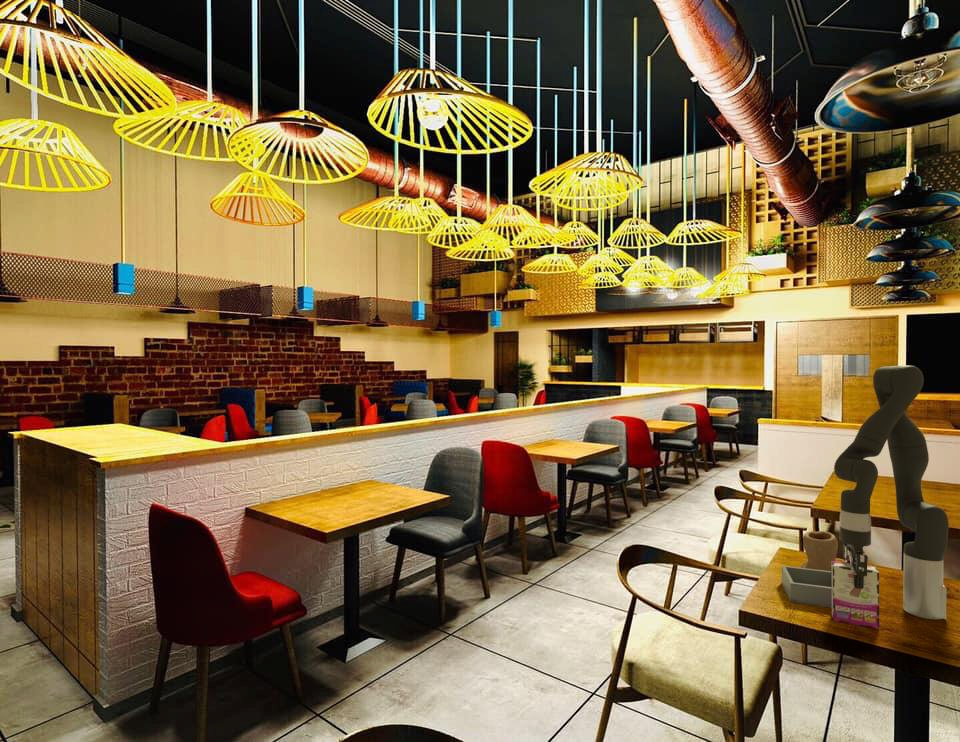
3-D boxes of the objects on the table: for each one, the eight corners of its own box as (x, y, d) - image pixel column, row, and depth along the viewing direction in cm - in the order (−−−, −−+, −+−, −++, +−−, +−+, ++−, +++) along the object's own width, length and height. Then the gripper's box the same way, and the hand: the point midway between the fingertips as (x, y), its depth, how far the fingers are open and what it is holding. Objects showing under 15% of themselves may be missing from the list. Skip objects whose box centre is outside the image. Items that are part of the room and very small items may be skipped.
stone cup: (799, 575, 190) (799, 533, 190) (802, 565, 199) (802, 525, 199) (850, 585, 181) (851, 541, 181) (851, 574, 191) (852, 532, 190)
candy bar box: (876, 622, 155) (876, 566, 154) (879, 630, 150) (880, 572, 150) (830, 614, 160) (830, 559, 160) (832, 621, 155) (832, 565, 155)
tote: (836, 589, 177) (836, 571, 177) (850, 610, 162) (850, 590, 162) (781, 582, 183) (781, 565, 183) (790, 602, 168) (790, 583, 168)
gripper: (879, 535, 147) (878, 595, 147) (862, 521, 160) (862, 576, 160) (847, 532, 149) (846, 591, 150) (833, 518, 163) (833, 572, 163)
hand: (854, 583), depth 155 cm, fingers open, 7 cm apart
